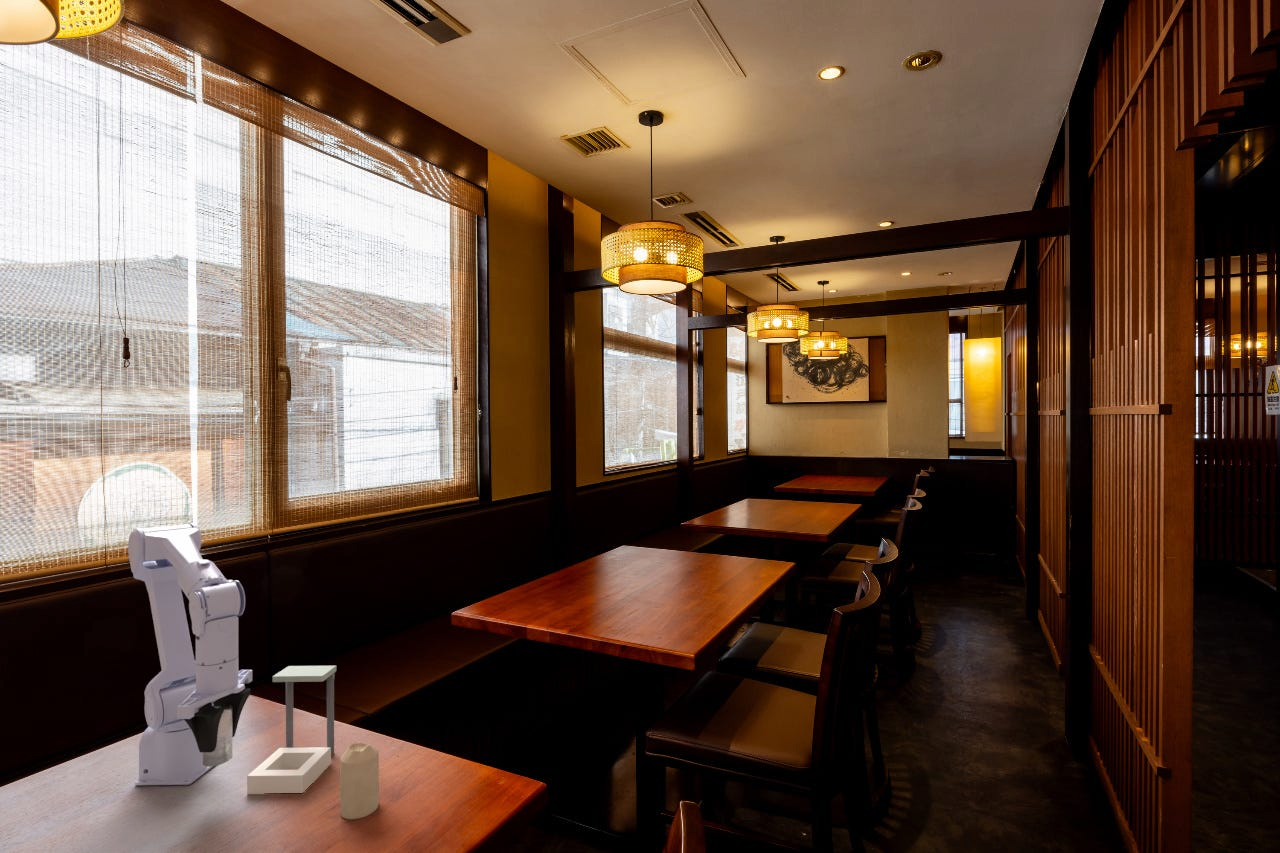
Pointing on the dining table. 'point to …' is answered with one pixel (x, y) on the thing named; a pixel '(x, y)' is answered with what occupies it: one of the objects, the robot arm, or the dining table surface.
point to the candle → (359, 781)
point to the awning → (308, 675)
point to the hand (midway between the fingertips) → (217, 744)
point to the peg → (221, 740)
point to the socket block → (281, 779)
